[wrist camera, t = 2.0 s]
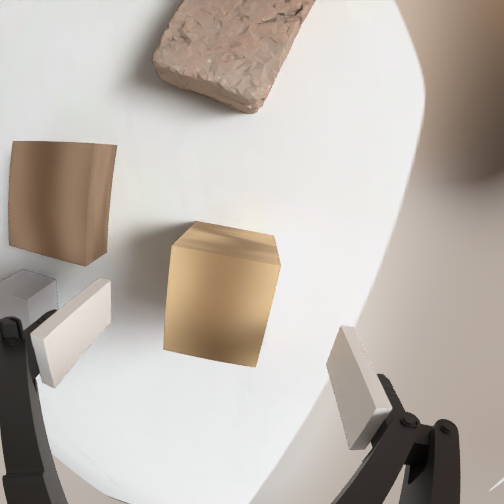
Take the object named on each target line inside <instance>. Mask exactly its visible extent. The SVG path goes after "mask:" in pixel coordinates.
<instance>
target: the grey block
mask: <svg viewBox="0 0 504 504" xmlns="http://www.w3.org/2000/svg"><path fill="white" fill-rule="evenodd" d="M53 309H56V310H59V308H58V298H57V287H56V280H55V279H52V278H49V277H46V276H42V275H39V274H36V273H33V272H30V271H27V270H24V269H21V270H20V271H18V272H16V273H14V274H13V275H11V276H9V277H8V278H6V279H4V280H3V281H1V282H0V319H2V318H4V317H8V316H14V317H17V318H19V319H20V320H21V322H22V326H23V331H24V330H25V329H26V328H27V327H29V326H30V325H31V324H32V323H34V322H36V320H37V319H38V318H40V317H41V316H42V315H43V314H45V313H46V312H48V311H51V310H53Z"/></svg>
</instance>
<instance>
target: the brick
mask: <svg viewBox="0 0 504 504" xmlns="http://www.w3.org/2000/svg"><path fill="white" fill-rule="evenodd" d="M315 1H316V0H183V2H182V3H181V5H180V6H179V8H178V9H177V11H176V12H175V14H174V15H173V17H172V19H171V20H170V22H169V25H168V29H166V30H165V31H164V32H163V34H162V36H161V38H160V41H159V45H158V47H157V49H156V50H155V51H154V54H153V60H152V63H153V64H154V67H155V70H156V72H157V74H158V76H159V77H160V78H161V79H162V80H163V81H165V82H168V83H170V84H172V85H175V86H178V88H180V89H182V90H189V91H194V92H196V93H199V94H201V95H206V96H207V97H211V98H214V99H215V100H216V101H219V102H222V103H224V104H225V105H226V106H228V107H230V108H232V109H235V110H239V111H242V112H244V113H252V114H254V113H256V112H257V111H258V109H259V108H260V107H262V106H263V103H264V101H265V99H266V98H267V96H268V94H269V92H270V90H271V88H272V85H273V84H274V81H275V78H276V77H277V74H278V72H279V70H280V67H281V66H282V64H283V62H284V61H285V59H286V57H287V55H288V53H289V51H290V48H291V46H292V44H293V41H294V39H295V37H296V35H297V34H298V32H299V29H300V27H301V24H302V23H303V21H304V20H305V18H306V17H307V15H308V13H309V11H310V9H311V8H312V5H313V4H314V2H315Z"/></svg>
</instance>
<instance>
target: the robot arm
mask: <svg viewBox="0 0 504 504" xmlns="http://www.w3.org/2000/svg"><path fill="white" fill-rule="evenodd" d="M110 323H111V280H108V279H104V278H98V279H97V280H96V281H94V282H93V283H92V284H90V285H89V286H88V287H87V288H85V289H84V290H83V291H81V292H80V293H79V294H78V295H76V296H75V297H74V298H73V299H71V300H70V301H69V302H68V303H66V304H65V305H64V306H63V307H61V308H60V309H59V310H56V309H53V310H51V311H48V312H46V313H45V314H43V315H42V316H41V317H40V318H38V319H37V320H36V322H34V323H32V324H31V325H30V326H29V327H27V328H26V329H25V330H24V331H23V326H22V322H21V320H20V319H19V318H17V317H14V316H8V317H4V318H2V319H0V429H1V439H2V448H3V455H4V461H5V467H6V475H4V476H3V479H2V480H3V486H4V491H5V496H6V500H7V504H68V502H67V500H66V497H65V494H64V492H63V489H62V486H61V483H60V480H59V477H58V474H57V471H56V468H55V465H54V461H53V458H52V454H51V450H50V447H49V443H48V439H47V435H46V430H45V426H44V421H43V416H42V411H41V405H40V400H39V393H38V387H37V381H36V377H37V375H38V374H39V373H40V376H41V379H42V383H44V384H47V385H49V386H51V387H53V388H56V387H57V385H58V384H59V383H60V382H61V380H62V379H63V378H64V377H65V376H66V374H67V373H68V372H69V371H70V369H71V368H72V367H73V366H74V365H75V363H76V362H77V361H78V360H79V359H80V357H81V356H82V355H83V354H84V353H85V351H86V350H87V349H88V348H89V347H90V346H91V344H92V343H93V342H94V341H95V340H96V339H97V337H98V336H99V335H100V334H101V333H102V332H103V331H104V329H105V328H106V327H107V326H108V325H109V324H110ZM326 366H327V369H328V373H329V376H330V380H331V383H332V387H333V390H334V394H335V397H336V401H337V405H338V409H339V412H340V416H341V420H342V423H343V427H344V431H345V435H346V439H347V442H348V446H349V450H361V449H363V450H364V449H365V448H366V447H367V446H368V444H369V443H370V441H371V444H372V447H373V448H372V450H371V451H370V452H369V453H368V455H367V456H366V457H365V459H364V460H363V461H362V464H361V465H360V467H359V468H358V470H357V471H356V472H355V474H354V475H353V476H352V478H351V479H350V480H349V482H348V483H347V484H346V486H345V487H344V488H343V489H342V491H341V492H340V493H339V495H338V496H337V497H336V498H335V499H334V501H333V502H332V503H331V504H382V503H383V501H384V500H385V498H386V496H387V494H388V493H389V491H390V489H391V487H392V486H393V484H394V482H395V480H396V478H397V476H398V474H399V472H400V470H401V468H402V466H403V465H404V464H405V465H406V468H405V474H404V480H403V485H402V491H401V495H400V500H399V504H460V449H459V434H458V429H457V427H456V425H455V424H454V423H452V422H451V421H449V420H446V419H440V420H438V421H437V422H436V423H435V424H434V426H428V425H423V424H420V421H419V419H418V418H417V417H416V416H415V415H413V414H411V413H408V412H405V410H404V408H403V406H402V404H401V402H400V400H399V398H398V397H397V394H396V392H395V390H394V389H393V386H392V384H391V382H390V380H389V379H387V378H386V377H385V376H384V375H383V374H376V372H375V370H374V368H373V366H372V364H371V362H370V360H369V358H368V356H367V354H366V352H365V350H364V348H363V346H362V344H361V342H360V340H359V338H358V336H357V334H356V332H355V330H354V328H353V327H348V326H340V329H339V332H338V334H337V337H336V340H335V342H334V345H333V348H332V350H331V353H330V355H329V358H328V361H327V363H326Z"/></svg>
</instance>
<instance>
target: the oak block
mask: <svg viewBox="0 0 504 504" xmlns="http://www.w3.org/2000/svg"><path fill="white" fill-rule="evenodd" d="M280 268H281V264H280V260H279V255H278V251H277V246H276V242H275V238H274V236H273V235H268V234H263V233H257V232H252V231H247V230H242V229H236V228H231V227H226V226H220V225H215V224H209V223H204V222H198V221H196V222H195V223H194V224H193V225H192V226H191V227H190V228H189V229H188V230H187V231H186V232H185V233H184V234H183V235H182V236H181V237H180V238H179V239H178V240H177V241H176V242H175V243H174V244H173V245H172V248H171V257H170V266H169V276H168V287H167V299H166V313H165V328H164V347H163V349H164V350H168V351H172V352H177V353H181V354H186V355H190V356H195V357H200V358H205V359H210V360H215V361H220V362H226V363H231V364H237V365H243V366H250V367H256V364H257V360H258V357H259V353H260V349H261V345H262V341H263V337H264V333H265V329H266V325H267V321H268V317H269V313H270V309H271V305H272V301H273V297H274V293H275V289H276V285H277V280H278V276H279V272H280Z"/></svg>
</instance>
